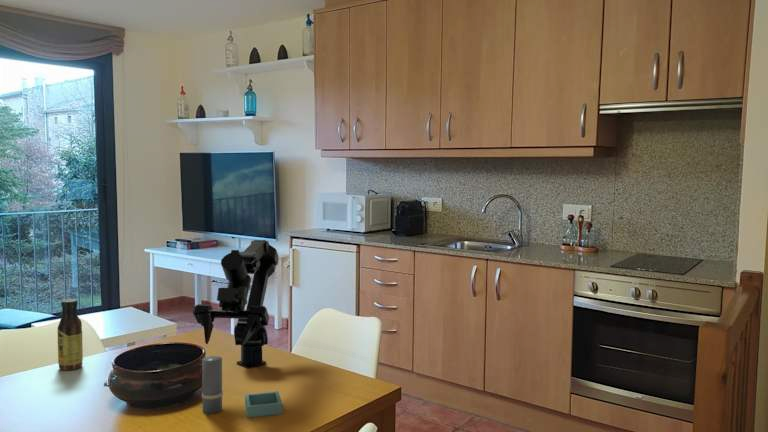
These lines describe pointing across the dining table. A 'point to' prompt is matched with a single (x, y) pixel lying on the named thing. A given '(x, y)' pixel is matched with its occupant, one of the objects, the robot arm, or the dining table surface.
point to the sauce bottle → (70, 337)
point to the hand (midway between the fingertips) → (224, 343)
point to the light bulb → (212, 384)
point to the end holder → (263, 404)
